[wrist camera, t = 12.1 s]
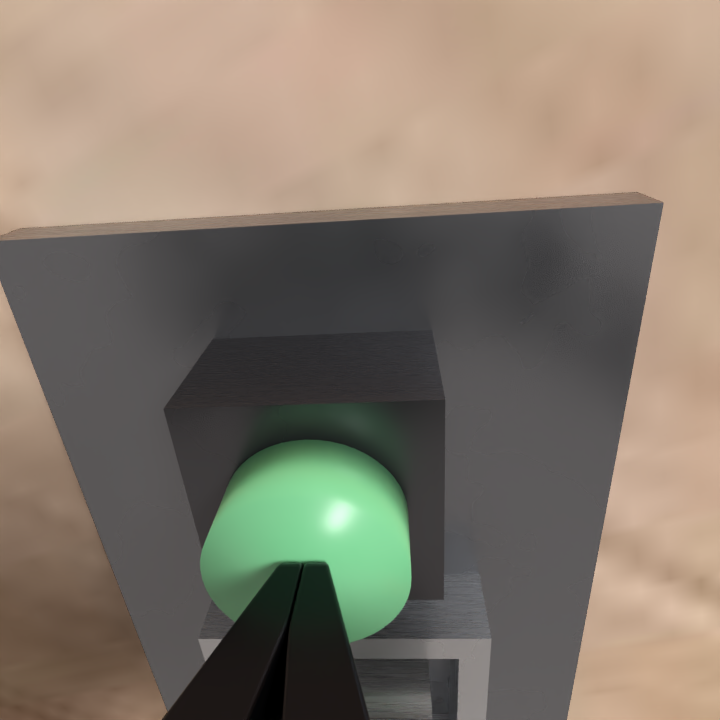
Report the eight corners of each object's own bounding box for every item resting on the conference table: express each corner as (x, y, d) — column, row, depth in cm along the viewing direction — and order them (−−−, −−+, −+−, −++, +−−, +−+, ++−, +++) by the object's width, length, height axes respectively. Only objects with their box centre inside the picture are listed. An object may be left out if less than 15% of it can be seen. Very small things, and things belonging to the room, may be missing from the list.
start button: (410, 579, 11) (413, 646, 10) (241, 580, 11) (221, 646, 10) (405, 436, 9) (409, 493, 8) (207, 442, 10) (179, 498, 8)
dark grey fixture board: (532, 830, 24) (559, 966, 20) (230, 822, 25) (202, 951, 21) (637, 192, 11) (760, 241, 8) (19, 228, 12) (-140, 287, 9)
